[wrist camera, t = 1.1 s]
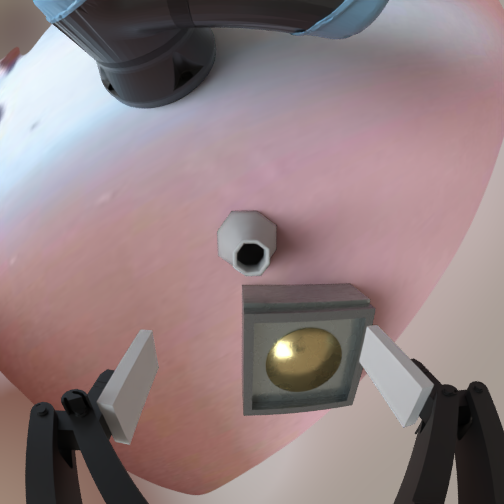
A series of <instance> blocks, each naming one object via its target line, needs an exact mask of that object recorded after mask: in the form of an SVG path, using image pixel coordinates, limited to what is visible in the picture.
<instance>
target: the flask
mask: <svg viewBox="0 0 504 504" xmlns="http://www.w3.org/2000/svg"><path fill="white" fill-rule="evenodd" d="M217 241H218V256H219V257H221V258H222V259H224V260H225V261H227V262H228V263H229V264H231V265H232V266H233V268H235V269H236V270H237V271H239V272H240V273H242V274H243V275H245V276H261V275H262V274H263V272H264V271H265V270H266V268H267V267H268V266H269V264H270V257H271V256H272V255H273V253H274V252H275V251H276V225H275V224H274V223H273V222H271V221H270V220H269V219H267V218H266V217H265V216H263V215H262V214H260V213H259V212H258V211H231V213H230V214H229V215H228V217H227V218H226V220H225V221H224V222H223V224H222V225H221V227H220V228H219V229H218V231H217Z"/></svg>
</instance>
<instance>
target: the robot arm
mask: <svg viewBox="0 0 504 504" xmlns="http://www.w3.org/2000/svg"><path fill="white" fill-rule="evenodd" d="M388 1H389V0H33V2H34V4H35V5H36V6H37V7H38V8H39V9H40V10H41V11H42V12H43V14H45V16H46V19H47V21H48V22H50V23H52V24H53V25H54V26H56V27H57V28H58V29H59V30H60V31H62V32H63V33H64V34H65V35H66V36H68V37H69V38H70V39H71V40H72V41H74V42H75V43H76V44H77V45H78V46H80V47H81V48H82V49H83V50H84V51H85V52H87V53H88V54H89V55H90V56H91V57H92V58H94V59H95V60H96V62H97V65H98V69H99V73H100V76H101V80H102V82H103V85H104V87H105V88H106V90H107V91H108V92H109V93H110V94H111V95H112V96H113V97H115V98H116V99H117V100H118V101H120V102H122V103H123V104H126V105H128V106H131V107H137V108H152V107H158V106H162V105H166V104H169V103H171V102H174V101H176V100H178V99H180V98H182V97H184V96H185V95H187V94H188V93H190V92H191V91H192V90H194V89H195V88H196V87H197V86H198V85H199V84H200V83H201V82H202V81H203V80H204V79H205V77H206V76H207V75H208V73H209V71H210V70H211V68H212V65H213V63H214V60H215V54H216V48H215V40H214V35H213V33H212V30H211V28H210V27H228V28H249V29H261V30H271V31H279V32H286V33H290V34H291V35H295V36H302V35H311V36H318V37H324V38H329V39H344V38H347V37H350V36H352V35H354V34H358V33H360V32H361V31H363V30H364V29H365V28H367V27H368V26H369V25H370V24H371V23H372V22H373V21H374V20H375V19H376V18H377V17H378V16H379V14H380V13H381V12H382V10H383V9H384V7H385V6H386V4H387V3H388ZM359 362H360V364H361V365H362V367H363V368H364V369H365V371H366V372H367V374H368V375H369V377H370V378H371V380H372V381H373V383H374V384H375V386H376V387H377V388H378V390H379V392H380V393H381V395H382V396H383V398H384V399H385V401H386V402H387V404H388V405H389V407H390V408H391V410H392V411H393V413H394V414H395V416H396V417H397V419H398V420H399V422H400V423H401V425H402V427H403V428H404V427H407V426H410V425H413V424H415V422H416V420H417V419H418V417H419V416H420V418H421V419H422V421H421V423H420V425H419V427H418V429H417V430H416V432H415V434H417V432H418V434H417V438H416V441H415V445H414V448H413V452H412V455H411V458H410V461H409V465H408V467H407V470H406V473H405V476H404V479H403V482H402V484H401V487H400V489H399V492H398V494H397V497H396V499H395V502H394V504H444V502H445V498H446V494H447V490H448V486H449V480H450V476H451V471H452V466H453V459H454V453H455V460H456V469H457V481H458V504H504V431H503V428H502V425H501V422H500V419H499V416H498V413H497V411H496V408H495V405H494V403H493V400H492V398H491V396H490V393H489V391H488V388H487V387H486V385H484V384H483V383H481V382H477V381H475V382H472V383H470V385H469V387H468V389H467V390H459V391H458V390H457V389H456V388H455V387H454V386H452V385H446V384H444V385H442V384H441V383H440V382H439V381H438V380H437V379H436V378H435V377H434V376H433V375H432V374H431V373H430V372H429V371H428V370H427V369H426V368H425V366H423V364H422V363H420V362H419V361H417V360H415V359H410V358H409V357H408V356H407V355H406V354H405V353H404V352H403V351H402V350H401V349H400V348H399V347H398V346H397V345H396V344H395V343H394V342H393V341H392V340H391V339H390V338H389V337H388V335H387V334H386V333H385V332H384V331H383V330H382V329H381V328H380V327H379V326H378V325H372V326H367V329H366V333H365V338H364V343H363V347H362V351H361V356H360V360H359ZM158 368H159V366H158V361H157V355H156V350H155V344H154V338H153V332H152V330H140V331H139V333H138V334H137V336H136V337H135V339H134V341H133V342H132V344H131V345H130V347H129V349H128V350H127V352H126V353H125V355H124V357H123V358H122V360H121V361H120V363H119V365H118V366H117V368H116V370H115V371H114V370H108V369H107V370H106V371H104V372H103V373H102V374H100V376H99V377H98V379H97V380H96V382H95V383H94V385H93V387H92V388H91V390H90V391H89V393H88V394H86V393H85V392H84V391H82V390H78V389H74V390H70V391H67V392H66V393H65V394H63V396H62V398H61V403H62V405H63V407H64V409H65V411H56V410H54V408H53V406H52V405H51V404H49V403H47V402H40V403H37V404H35V405H34V406H33V407H32V409H31V413H30V420H29V428H28V437H27V450H26V470H25V473H26V474H25V483H26V504H82V499H81V493H80V487H79V481H78V474H77V466H76V457H75V450H81V453H82V455H83V458H84V460H85V462H86V464H87V467H88V469H89V471H90V473H91V475H92V478H93V480H94V481H95V484H96V486H97V487H98V489H99V491H100V493H101V495H102V497H103V499H104V501H105V502H106V504H149V503H148V502H147V501H146V499H145V498H144V497H143V495H142V494H141V492H140V491H139V489H138V488H137V487H136V485H135V484H134V482H133V481H132V479H131V478H130V476H129V474H128V473H127V471H126V469H125V468H124V466H123V465H122V463H121V461H120V459H119V458H118V456H117V454H116V452H115V451H114V449H113V447H112V445H111V443H110V441H109V439H110V437H111V435H112V436H113V438H114V440H115V442H120V443H124V444H129V445H130V443H131V440H132V437H133V434H134V431H135V428H136V426H137V423H138V420H139V417H140V415H141V412H142V409H143V407H144V404H145V401H146V399H147V396H148V393H149V391H150V388H151V386H152V383H153V381H154V378H155V375H156V373H157V370H158Z"/></svg>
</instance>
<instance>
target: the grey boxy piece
mask: <svg viewBox="0 0 504 504" xmlns="http://www.w3.org/2000/svg"><path fill="white" fill-rule="evenodd" d="M374 314H375V308H374V307H373V306H372V305H371V304H370V299H369V298H368V297H367V296H365V295H364V294H363V293H362V292H360V291H359V290H358V289H356V288H355V287H354V286H353V285H351V284H315V285H242V397H243V415H244V416H247V415H273V414H288V413H299V412H308V411H317V410H324V409H331V408H337V407H343V406H349V405H352V404H353V401H354V398H355V394H356V390H357V387H358V384H359V380H360V377H361V373H362V369H363V367H362V365H361V364H360V362H359V360H360V356H361V351H362V347H363V343H364V338H365V333H366V329H367V326H372V325H373V319H374Z"/></svg>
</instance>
